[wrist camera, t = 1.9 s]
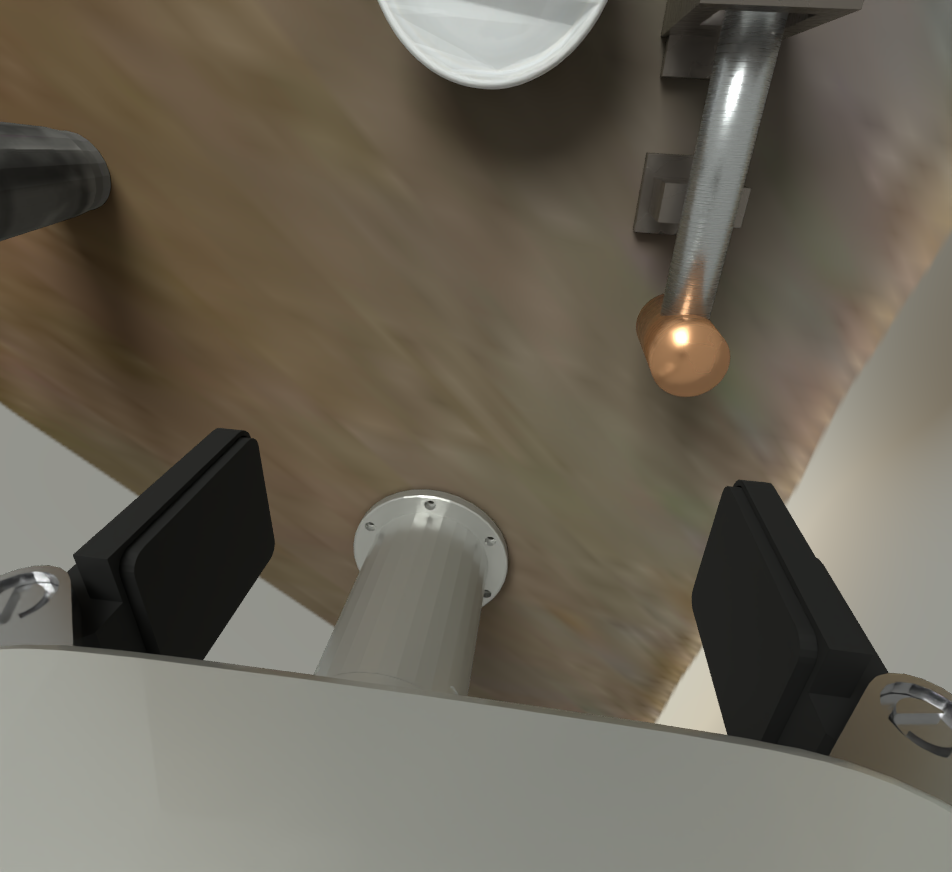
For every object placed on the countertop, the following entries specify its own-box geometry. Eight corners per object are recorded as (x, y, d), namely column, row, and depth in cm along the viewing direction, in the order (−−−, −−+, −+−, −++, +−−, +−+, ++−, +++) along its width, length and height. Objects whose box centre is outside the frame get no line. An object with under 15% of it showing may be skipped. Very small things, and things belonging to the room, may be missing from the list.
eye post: (766, 82, 29) (843, 66, 21) (653, 76, 29) (688, 58, 21) (798, -45, 26) (899, -116, 18) (675, -48, 27) (723, -120, 19)
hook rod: (693, 356, 33) (719, 400, 28) (630, 351, 33) (644, 393, 28) (809, -102, 23) (882, -168, 18) (719, -104, 24) (765, -169, 18)
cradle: (721, 236, 32) (744, 251, 28) (632, 229, 33) (643, 244, 29) (740, 158, 30) (769, 163, 26) (646, 152, 31) (659, 156, 27)
